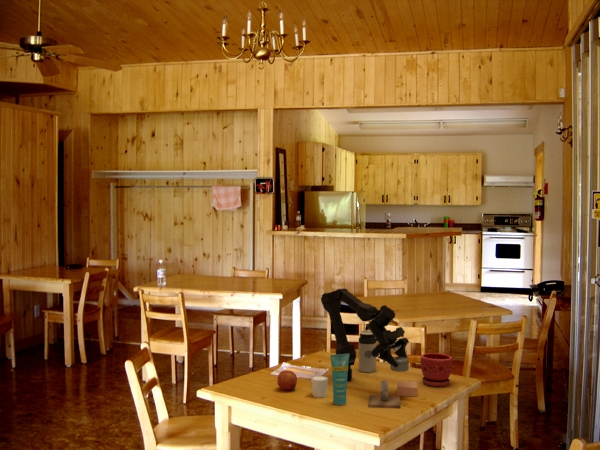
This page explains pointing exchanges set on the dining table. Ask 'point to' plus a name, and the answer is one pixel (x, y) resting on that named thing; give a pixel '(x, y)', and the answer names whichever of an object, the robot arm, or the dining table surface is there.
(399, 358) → the cap
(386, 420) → the dining table surface
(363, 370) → the travel mug
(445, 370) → the plant pot
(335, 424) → the dining table surface
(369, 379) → the dining table surface
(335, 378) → the tube
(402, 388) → the stand
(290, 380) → the apple
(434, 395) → the dining table surface
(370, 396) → the square base plate
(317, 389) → the shot glass
